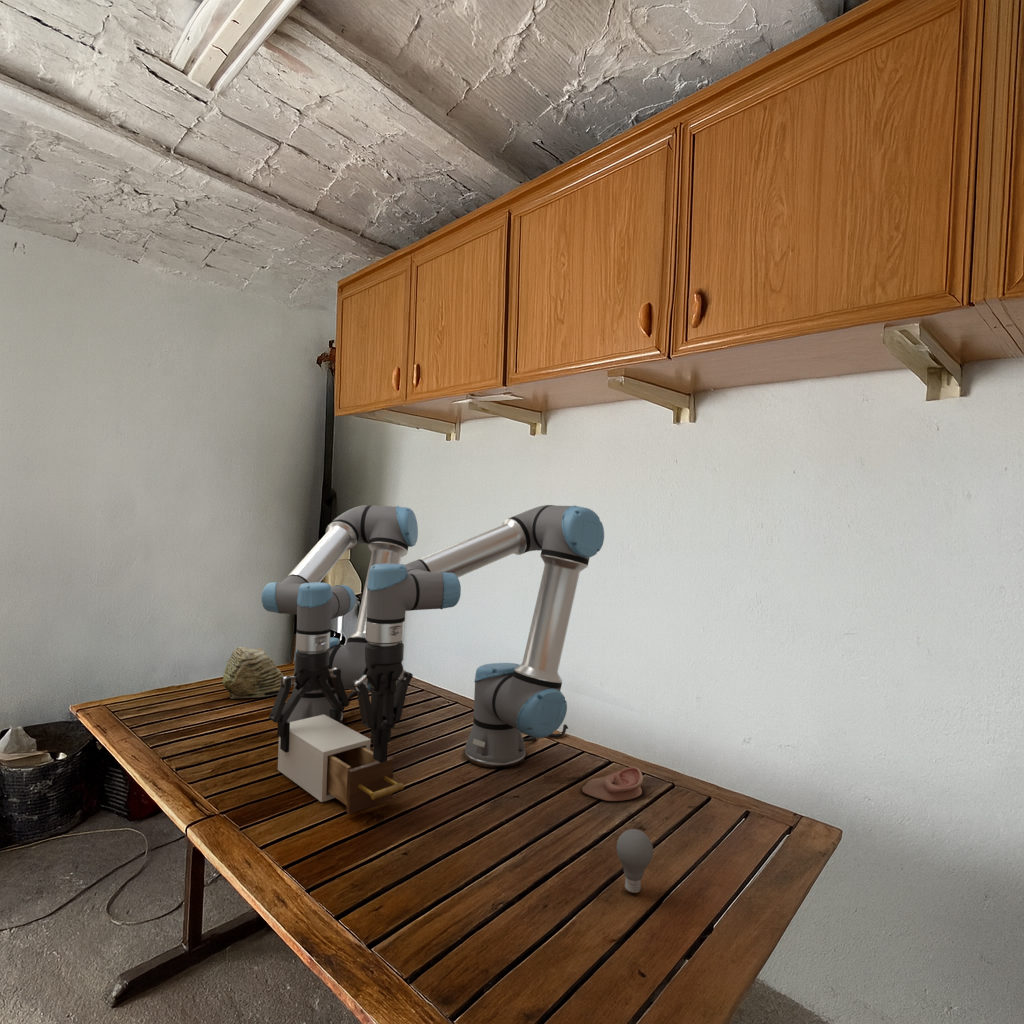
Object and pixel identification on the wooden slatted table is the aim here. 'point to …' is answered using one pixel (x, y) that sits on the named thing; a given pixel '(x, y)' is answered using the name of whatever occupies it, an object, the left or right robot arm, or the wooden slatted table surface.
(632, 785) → the anatomical model
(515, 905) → the wooden slatted table surface
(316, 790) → the cabinet
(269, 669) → the fossil
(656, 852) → the wooden slatted table surface
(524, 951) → the wooden slatted table surface
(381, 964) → the wooden slatted table surface
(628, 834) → the light bulb
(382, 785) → the drawer
